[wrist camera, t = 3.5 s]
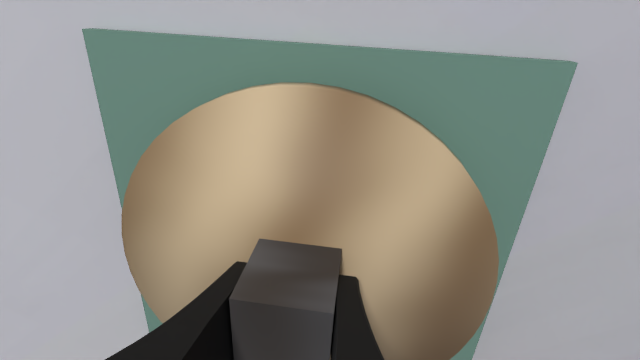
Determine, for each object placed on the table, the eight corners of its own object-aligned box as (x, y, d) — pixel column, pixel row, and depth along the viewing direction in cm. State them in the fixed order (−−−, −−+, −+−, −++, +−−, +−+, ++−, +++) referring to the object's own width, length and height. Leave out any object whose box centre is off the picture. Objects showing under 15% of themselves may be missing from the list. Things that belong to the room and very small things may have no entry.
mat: (569, 60, 11) (577, 62, 10) (455, 389, 18) (457, 398, 17) (92, 28, 12) (81, 28, 12) (158, 343, 19) (153, 351, 19)
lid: (547, 101, 10) (637, 144, 7) (446, 402, 16) (466, 505, 13) (100, 65, 11) (-15, 87, 8) (161, 355, 17) (110, 438, 14)
